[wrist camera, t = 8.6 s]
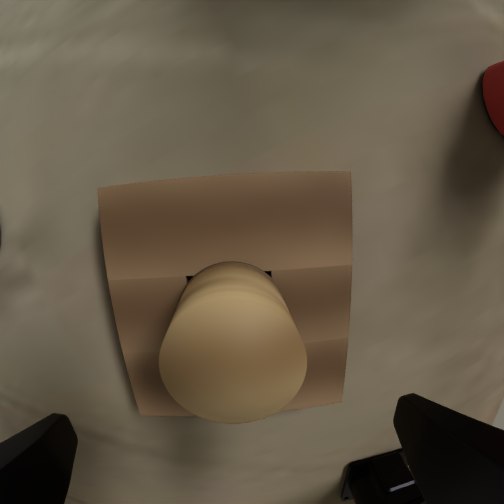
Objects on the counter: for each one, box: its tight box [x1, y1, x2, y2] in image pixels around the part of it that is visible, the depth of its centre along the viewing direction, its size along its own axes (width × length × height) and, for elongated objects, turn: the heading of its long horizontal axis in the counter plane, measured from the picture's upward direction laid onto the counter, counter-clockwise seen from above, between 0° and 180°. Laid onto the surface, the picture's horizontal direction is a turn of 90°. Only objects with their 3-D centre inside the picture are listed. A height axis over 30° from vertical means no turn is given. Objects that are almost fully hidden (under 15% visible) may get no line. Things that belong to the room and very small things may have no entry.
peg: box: [159, 261, 307, 424], centre depth 14 cm, size 5×5×8 cm
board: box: [97, 171, 352, 416], centre depth 17 cm, size 13×12×3 cm
